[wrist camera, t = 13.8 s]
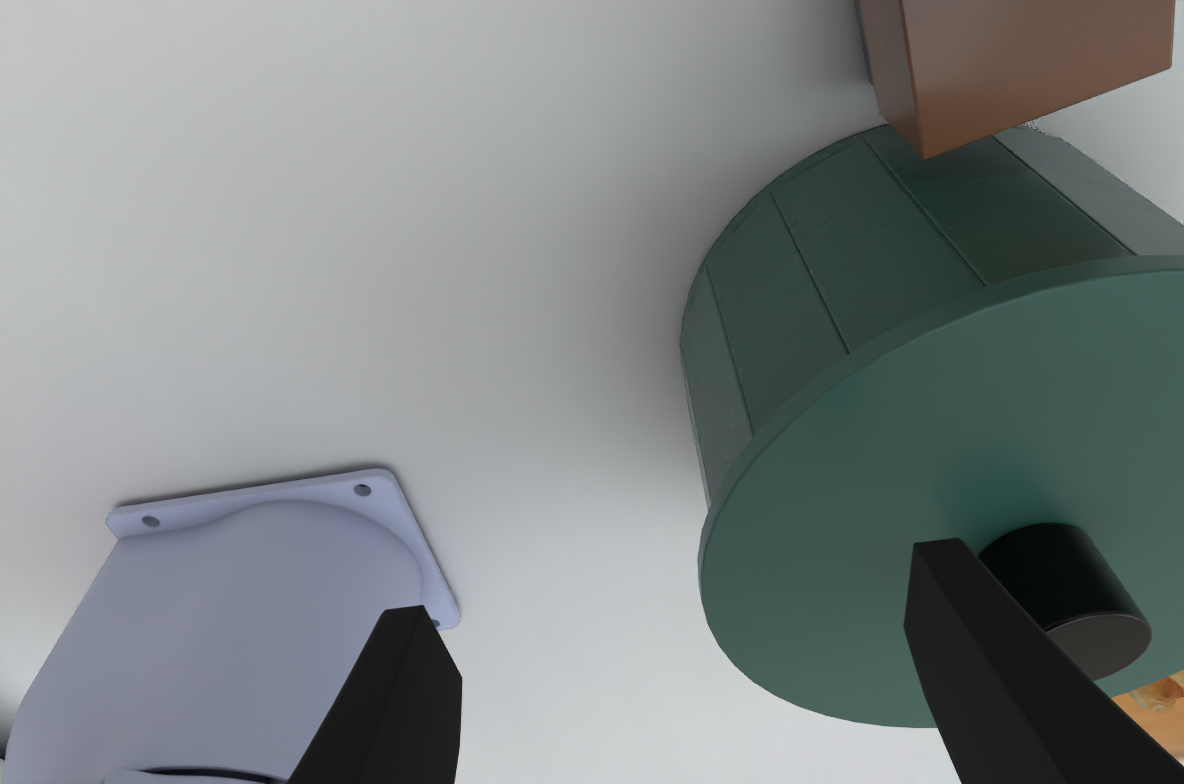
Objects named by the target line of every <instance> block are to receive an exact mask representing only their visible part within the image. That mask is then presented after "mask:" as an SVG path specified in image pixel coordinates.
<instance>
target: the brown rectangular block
mask: <svg viewBox="0 0 1184 784" xmlns="http://www.w3.org/2000/svg"><path fill="white" fill-rule="evenodd" d="M855 4H856V9H857V15H858V20H859V26H860V31H861V37H862V42H863V48H864V53H865V59H866V64H867V69H868V75H869V80H870V83H871V84H872V85H873V86H874V87H875V91H876V97H877V102H878V108H879V113H880V114H881V115H882V116H883V117H884V119H885V120H886V121H887V122H888V123H889V124H890V125H891V126H892V127H893V128H894V129H895V130H896V131H897V132H898V133H899V134H900V136H901V137H902V138H903V139H904V140H905V141H906V142H907V143H908V144H909V145H910V146H911V147H912V148H913V149H914V150H915V151H916V153H917V154H918V155H919V156H920V157H921V158H922V159H923V160H927V159H929V158H932V157H935V156H937V155H940V154H943V153H945V152H948V151H951V150H953V149H956V148H959V147H961V146H964V145H967V144H969V143H972V142H975V141H977V140H980V139H983V138H985V137H988V136H991V135H993V134H996V133H999V132H1001V131H1004V130H1007V129H1009V128H1012V127H1015V126H1017V125H1020V124H1023V123H1026V122H1028V121H1031V120H1034V119H1036V118H1039V117H1042V116H1044V115H1047V114H1050V113H1052V112H1055V111H1058V110H1060V109H1063V108H1066V107H1068V106H1071V105H1074V104H1076V103H1079V102H1082V101H1084V100H1087V99H1090V98H1092V97H1095V96H1098V95H1100V94H1103V93H1106V92H1108V91H1111V90H1114V89H1116V88H1119V87H1122V86H1124V85H1127V84H1130V83H1132V82H1135V81H1138V80H1140V79H1143V78H1146V77H1148V76H1151V75H1154V74H1157V73H1159V72H1162V71H1165V70H1167V69H1169V68H1171V66H1172V49H1173V31H1174V13H1175V0H855Z"/></svg>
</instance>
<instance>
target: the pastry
mask: <svg viewBox="0 0 1184 784" xmlns="http://www.w3.org/2000/svg"><path fill="white" fill-rule="evenodd" d="M1129 694H1130V695H1131V697H1132V698H1133V699H1134V700H1135V702H1136V703H1137V704H1138V705H1139V706H1140V707H1141V708H1143V709H1144V710H1153V711H1156V712H1162V713H1168V712H1170V711H1171V710H1172V708H1173V706H1174V703H1175V701H1176V699H1178V698H1181V697H1184V670H1182V671H1180V672H1177V673H1175V674H1173V675H1171V676H1169V677H1166V678H1164V679H1161V680H1159V681H1156V682H1153V683H1151V684H1148V685H1146V686H1143V687H1140V688H1138V689H1135V690H1133V691H1130V692H1129Z"/></svg>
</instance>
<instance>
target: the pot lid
mask: <svg viewBox="0 0 1184 784" xmlns="http://www.w3.org/2000/svg"><path fill="white" fill-rule="evenodd" d="M957 537H958V538H960V539H961V540H963V541H965V542H966V543H967V545H968V546H969V547H970V548H971V549H972V551H973V552H974V553H975V554H976V555H977V557H978V558H979V559H980V560H981V561H982V562H983V564H984V565H985V566H986V567H987V568H988V569H989V571H990V572H991V573H992V574H993V575H994V576H995V578H996V579H997V580H998V581H999V582H1000V583H1001V584H1002V585H1003V587H1004V588H1005V589H1006V590H1007V591H1008V592H1009V593H1010V594H1011V596H1012V597H1013V598H1014V599H1015V600H1016V601H1017V602H1018V603H1019V604H1020V606H1021V607H1022V608H1023V609H1024V610H1025V611H1026V612H1027V613H1028V614H1029V615H1030V616H1031V618H1032V619H1033V620H1034V621H1035V622H1036V623H1037V624H1038V625H1039V626H1040V627H1041V628H1042V629H1043V630H1044V631H1045V633H1046V634H1047V635H1048V636H1049V637H1050V638H1051V639H1052V640H1053V641H1054V642H1055V643H1056V644H1057V645H1058V646H1059V647H1060V648H1061V649H1062V650H1063V651H1064V652H1065V653H1066V654H1067V655H1068V656H1069V657H1070V658H1071V659H1072V660H1073V661H1074V662H1075V663H1076V664H1077V665H1078V666H1079V667H1080V668H1081V669H1082V670H1083V671H1084V673H1085V674H1086V675H1087V676H1088V677H1089V678H1090V679H1091V680H1092V681H1093V682H1094V683H1095V684H1096V685H1097V686H1098V687H1099V688H1100V689H1101V690H1102V691H1103V692H1104V693H1106V694H1107V695H1108V696H1109V697H1110V698H1111V697H1114V696H1118V695H1121V694H1124V693H1127V692H1130V691H1133V690H1135V689H1138V688H1140V687H1143V686H1146V685H1148V684H1151V683H1153V682H1156V681H1159V680H1161V679H1164V678H1166V677H1169V676H1171V675H1173V674H1175V673H1177V672H1180V671H1182V670H1184V255H1138V256H1129V257H1120V258H1111V259H1101V260H1092V261H1085V262H1081V263H1076V264H1071V265H1067V266H1062V267H1057V268H1053V269H1048V270H1043V271H1039V272H1034V273H1030V274H1026V275H1023V276H1020V277H1017V278H1014V279H1010V280H1007V281H1004V282H1001V283H998V284H995V285H992V286H988V287H985V288H982V289H979V290H976V291H973V292H970V293H968V294H965V295H963V296H960V297H958V298H956V299H953V300H951V301H949V302H946V303H944V304H942V305H939V306H937V307H935V308H932V309H930V310H927V311H925V312H923V313H920V314H918V315H916V316H914V317H912V318H910V319H908V320H907V321H905V322H903V323H901V324H899V325H897V326H895V327H894V328H892V329H890V330H888V331H886V332H884V333H882V334H881V335H879V336H877V337H875V338H873V339H871V340H869V341H868V342H866V343H864V344H863V345H861V346H860V347H858V348H857V349H856V350H854V351H853V352H851V353H850V354H848V355H847V356H845V357H844V358H842V359H841V360H839V361H838V362H836V363H835V364H833V365H832V366H830V367H829V368H827V369H826V370H824V371H823V372H821V373H820V374H819V375H818V376H817V377H815V378H814V379H813V380H812V381H811V382H809V383H808V384H807V385H806V386H805V387H803V388H802V389H801V390H800V391H799V392H797V393H796V394H795V395H794V396H793V397H791V398H790V399H789V400H788V401H787V402H785V403H784V404H783V405H782V406H781V407H780V408H779V409H778V411H777V412H776V413H775V414H774V415H773V416H772V417H771V418H770V419H769V420H768V421H767V422H766V423H765V424H764V425H763V426H762V427H761V428H760V429H759V430H758V431H757V432H756V433H755V435H754V436H753V437H752V438H751V440H750V441H749V442H748V444H747V445H746V446H745V448H744V449H743V450H742V452H741V453H740V454H739V456H738V457H737V458H736V460H735V461H734V463H733V464H732V465H731V467H730V468H729V470H728V472H727V474H726V475H725V477H724V479H723V481H722V483H721V485H720V486H719V488H718V490H717V492H716V494H715V496H714V498H713V500H712V503H711V505H710V508H709V511H708V514H707V517H706V520H705V523H704V525H703V528H702V533H701V539H700V545H699V552H698V579H699V589H700V595H701V601H702V605H703V608H704V612H705V616H706V620H707V624H708V626H709V628H710V630H711V632H712V633H713V635H714V637H715V639H716V641H717V643H718V645H719V647H720V648H721V649H722V650H723V652H724V653H725V654H726V655H727V657H728V658H729V659H730V660H731V662H732V663H733V664H734V665H735V666H736V667H737V668H738V669H739V670H740V671H741V672H743V673H744V674H745V675H746V676H747V677H748V678H749V679H751V680H752V681H753V682H754V683H756V684H758V685H759V686H761V687H762V688H764V689H765V690H767V691H769V692H770V693H772V694H773V695H775V696H777V697H779V698H781V699H784V700H786V701H788V702H790V703H792V704H794V705H796V706H799V707H802V708H805V709H808V710H811V711H814V712H817V713H820V714H823V715H826V716H830V717H835V718H839V719H843V720H848V721H852V722H858V723H866V724H873V725H880V726H891V727H908V728H937V725H936V723H935V720H934V718H933V716H932V713H931V711H930V709H929V706H928V704H927V701H926V699H925V696H924V693H923V690H922V687H921V684H920V681H919V677H918V674H917V671H916V668H915V665H914V661H913V658H912V655H911V651H910V648H909V645H908V641H907V638H906V635H905V631H904V628H903V625H904V617H905V609H906V601H907V593H908V585H909V577H910V568H911V560H912V552H913V544H914V543H918V542H926V541H934V540H941V539H949V538H957Z"/></svg>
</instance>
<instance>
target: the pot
mask: <svg viewBox="0 0 1184 784" xmlns="http://www.w3.org/2000/svg"><path fill="white" fill-rule="evenodd" d="M1138 255H1184V225H1183V224H1181V223H1180V222H1178V221H1177V220H1176V219H1174V218H1173V217H1171V216H1170V215H1169V214H1167V213H1166V212H1164V211H1163V210H1162V209H1160V208H1159V207H1157V206H1156V205H1155V204H1153V203H1152V202H1150V201H1149V200H1148V199H1146V198H1145V197H1143V196H1142V195H1141V194H1139V193H1138V192H1136V191H1135V190H1134V189H1132V188H1131V187H1129V186H1128V185H1127V184H1125V183H1124V182H1122V181H1121V180H1120V179H1118V178H1117V177H1115V176H1114V175H1113V174H1111V173H1110V172H1108V171H1107V170H1106V169H1104V168H1103V167H1101V166H1100V165H1099V164H1097V163H1096V162H1094V161H1093V160H1092V159H1090V158H1089V157H1087V156H1086V155H1085V154H1083V153H1082V152H1080V151H1079V150H1078V149H1076V148H1075V147H1073V146H1072V145H1071V144H1069V143H1068V142H1065V141H1064V140H1062V139H1061V138H1057V137H1052V136H1048V135H1045V134H1043V133H1041V132H1039V131H1038V130H1035V129H1032V128H1029V127H1026V126H1022V125H1017V126H1015V127H1012V128H1009V129H1007V130H1004V131H1001V132H999V133H996V134H993V135H991V136H988V137H985V138H983V139H980V140H977V141H975V142H972V143H969V144H967V145H964V146H961V147H959V148H956V149H953V150H951V151H948V152H945V153H943V154H940V155H937V156H935V157H932V158H929V159H927V160H923V159H922V158H921V157H920V156H919V155H918V154H917V153H916V151H915V150H914V149H913V148H912V147H911V146H910V145H909V144H908V143H907V142H906V141H905V140H904V139H903V138H902V137H901V136H900V134H899V133H898V132H897V131H896V130H895V129H894V128H893V127H892V126H891V125H886V126H882V127H878V128H874V129H871V130H869V131H866V132H863V133H861V134H858V135H855V136H853V137H850V138H847V139H844V140H842V141H840V142H838V143H836V144H834V145H832V146H830V147H828V148H826V149H824V150H822V151H820V152H818V153H816V154H814V155H812V156H810V157H808V158H807V159H805V160H804V161H802V162H801V163H799V164H798V165H796V166H794V167H793V168H791V169H790V170H788V171H787V172H785V173H784V174H782V175H781V176H779V177H778V178H777V179H776V180H775V181H773V182H772V183H771V184H770V185H769V186H767V187H766V188H765V189H764V190H762V191H761V192H760V193H759V194H758V195H756V196H755V197H754V198H753V199H752V200H751V201H750V202H749V203H748V204H747V205H746V206H745V207H744V208H743V210H742V211H741V212H740V213H739V214H738V215H737V216H736V217H735V218H734V219H733V220H732V221H731V223H730V224H729V225H728V226H727V228H726V229H725V230H724V232H723V233H722V234H721V236H720V237H719V238H718V240H717V241H716V242H715V243H714V245H713V247H712V249H711V250H710V252H709V254H708V255H707V257H706V259H705V261H704V262H703V264H702V266H701V267H700V269H699V272H698V274H697V276H696V279H695V281H694V284H693V286H692V288H691V291H690V293H689V297H688V301H687V304H686V308H685V312H684V316H683V323H682V332H681V336H680V350H681V359H682V367H683V372H684V379H685V387H686V394H687V401H688V407H689V413H690V418H691V423H692V429H693V434H694V439H695V445H696V450H697V455H698V461H699V466H700V471H701V476H702V482H703V487H704V492H705V498H706V503H707V508H708V511H709V508H710V505H711V503H712V500H713V498H714V496H715V494H716V492H717V490H718V488H719V486H720V485H721V483H722V481H723V479H724V477H725V475H726V474H727V472H728V470H729V468H730V467H731V465H732V464H733V463H734V461H735V460H736V458H737V457H738V456H739V454H740V453H741V452H742V450H743V449H744V448H745V446H746V445H747V444H748V442H749V441H750V440H751V438H752V437H753V436H754V435H755V433H756V432H757V431H758V430H759V429H760V428H761V427H762V426H763V425H764V424H765V423H766V422H767V421H768V420H769V419H770V418H771V417H772V416H773V415H774V414H775V413H776V412H777V411H778V409H779V408H780V407H781V406H782V405H783V404H784V403H785V402H787V401H788V400H789V399H790V398H791V397H793V396H794V395H795V394H796V393H797V392H799V391H800V390H801V389H802V388H803V387H805V386H806V385H807V384H808V383H809V382H811V381H812V380H813V379H814V378H815V377H817V376H818V375H819V374H820V373H821V372H823V371H824V370H826V369H827V368H829V367H830V366H832V365H833V364H835V363H836V362H838V361H839V360H841V359H842V358H844V357H845V356H847V355H848V354H850V353H851V352H853V351H854V350H856V349H857V348H858V347H860V346H861V345H863V344H864V343H866V342H868V341H869V340H871V339H873V338H875V337H877V336H879V335H881V334H882V333H884V332H886V331H888V330H890V329H892V328H894V327H895V326H897V325H899V324H901V323H903V322H905V321H907V320H908V319H910V318H912V317H914V316H916V315H918V314H920V313H923V312H925V311H927V310H930V309H932V308H935V307H937V306H939V305H942V304H944V303H946V302H949V301H951V300H953V299H956V298H958V297H960V296H963V295H965V294H968V293H970V292H973V291H976V290H979V289H982V288H985V287H988V286H992V285H995V284H998V283H1001V282H1004V281H1007V280H1010V279H1014V278H1017V277H1020V276H1023V275H1026V274H1030V273H1034V272H1039V271H1043V270H1048V269H1053V268H1057V267H1062V266H1067V265H1071V264H1076V263H1081V262H1085V261H1092V260H1101V259H1111V258H1120V257H1129V256H1138Z"/></svg>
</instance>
